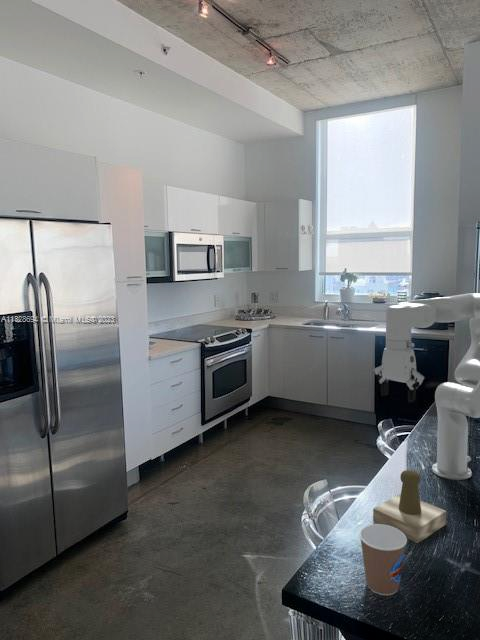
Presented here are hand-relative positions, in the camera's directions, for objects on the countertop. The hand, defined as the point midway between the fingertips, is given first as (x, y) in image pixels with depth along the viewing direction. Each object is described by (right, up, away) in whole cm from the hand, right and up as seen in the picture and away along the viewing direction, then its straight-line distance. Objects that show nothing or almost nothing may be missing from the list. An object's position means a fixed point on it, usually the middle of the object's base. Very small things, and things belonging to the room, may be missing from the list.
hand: (397, 398), depth 152 cm
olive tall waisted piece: (-2, -29, -17) cm, 33 cm away
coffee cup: (-17, -36, -42) cm, 58 cm away
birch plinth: (-2, -32, -17) cm, 37 cm away
